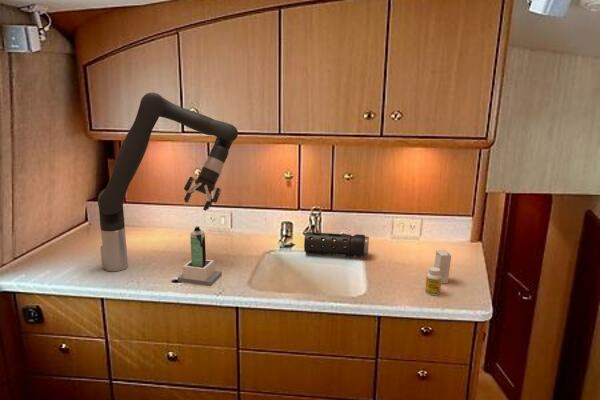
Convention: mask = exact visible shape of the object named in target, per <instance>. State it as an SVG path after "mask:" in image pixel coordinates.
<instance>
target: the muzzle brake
mask: <svg viewBox="0 0 600 400" xmlns="http://www.w3.org/2000/svg"><path fill="white" fill-rule="evenodd" d="M304 234H305V235H304V239H303V240H304V242H303V243H304V244H303V248H304V252H305V253H306V254H308V255H309V254H311V255H324V256H325V255H326V256H327V255H331V256H333V255H343V256H345V257H350V258H354V257H355V256H356V257H365V256H368V255H369V244H370V241H369V239H370V237H369V236H367V235H365V234H359V233H358V234H354V235H352V234H347V233H346V234H345V233H330V232H329V233H328V232H311V231H306V232H305V233H304Z"/></svg>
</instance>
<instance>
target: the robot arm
mask: <svg viewBox="0 0 600 400" xmlns="http://www.w3.org/2000/svg"><path fill="white" fill-rule="evenodd" d="M160 118H163V119H164V118H165V119H168V120H171V121H174V122H176V123H179V124H180V125H183V126H185V127H187V128H189V129H192V130H194V131H195V132H199V133H201V134H204V135H207V136H214V137H216V138H215V141H214V144H213V146H212V148H211V150H210V151H209V152H210V153H209V154H208V156H207V157H206V160H205V161H204V163H203V166H202V168H201V170H200V172H199V175H198V177H197V178H196V179H195V178H194V177H192V176H190V177H189V178H188V180H187V181H186V184H185V186H184V187H183V190H184V191H185V194H186V195H185V196H184V197H183V201H184V203H187V204H188V203H189V201H190V199H191V197H192V194H193V193H196V192H198V193H202V194H204V195H205V196H206V197H207V201H206V202H205V204H204V206H203V209H202V210H203V211H205V212H206V211H208V210H209V209H210V206H211V204H212V203H215V204H216V203H217V202H218V200H219V199H220V195H221V193H222V189H221V188H219V187H217V186H216V184H217V182H218V180H219V178H220V175H221V174H222V171H223V168H224V165H225V163H226V161H227V159H228V157H229V150H230V149H231V146H232V145H233V143H234V141H235V140H237V138H238V136H239V131H238V129H237V127H235V125H233V124H231V123H228V122H224V121H221V120H217V119H213V118H212V117H210V116H207V115H205V114H202V113H199V112H197V111H194V110H190V109H187V108H184V107H182V106H180V105H177V104H174V103H173V102H171V101H169V100H167V99H166V98H164V97H163V96H162V95H160V94H159V93H156V92H147V93H146V94H144V95H143V96H142V97H141V99H140V103H139V106H138V110H137V114H136V115H135V119H134V121H133V123H132V126H131V127H130V128H129V130H128V132H127V134H126V136H125V138H124V140H123V141H122V143H121V145H120V148H119V149H118V152H117V155H116V158H115V161H114V164H113V168H112V171H111V172H112V173H111V175H110V179H109V181H108V183H107V184H106V187H105V188H104V189H103V190H101V191H100V192H99V194H98V197H97V206H98V212H99V214H98V215H99V225H100V235H101V244H102V245H101V246H100V256H101V259H100V260H101V267H102V269H104V270H105V271H108V272H119V271H123V270H125V269H127V268H128V267H129V263H128V262H129V260H128V249H127V248H128V247H127V239H126V238H127V237H126V235H127V234H126V227H125V225H126V223H125V213H124V200H125V197H126V194H127V192H128V189H129V186H130V184H131V182H132V180H133V179H134V177H135V175H136V173H137V171H138V169H139V168H140V167H139V166H140V165H141V163H142V161H143V158H144V156H145V154H146V151H147V149H148V146H149V142H150V139H151V134H152V132H153V129H154V128H155V125H156V124H157V122H158V121H159V119H160ZM194 183H195V185H192V184H194ZM191 186H192V187H191ZM213 191H214V195H213V198H212V192H213Z"/></svg>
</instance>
